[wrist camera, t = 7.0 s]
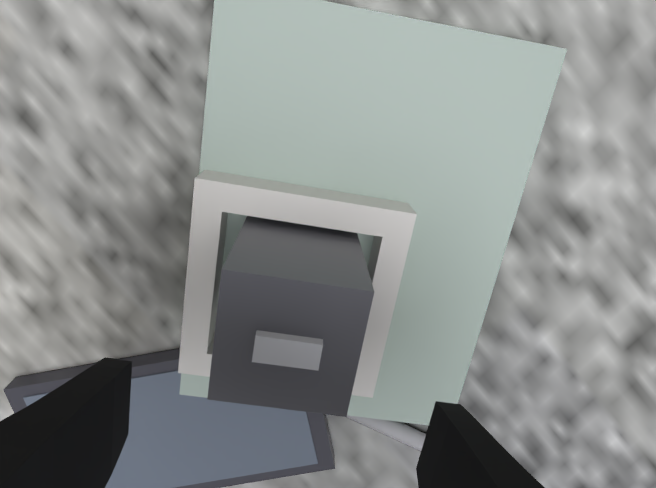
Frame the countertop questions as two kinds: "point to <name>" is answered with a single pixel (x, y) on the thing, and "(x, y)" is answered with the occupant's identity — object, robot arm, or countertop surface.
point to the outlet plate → (369, 175)
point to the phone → (196, 432)
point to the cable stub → (394, 430)
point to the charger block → (290, 318)
